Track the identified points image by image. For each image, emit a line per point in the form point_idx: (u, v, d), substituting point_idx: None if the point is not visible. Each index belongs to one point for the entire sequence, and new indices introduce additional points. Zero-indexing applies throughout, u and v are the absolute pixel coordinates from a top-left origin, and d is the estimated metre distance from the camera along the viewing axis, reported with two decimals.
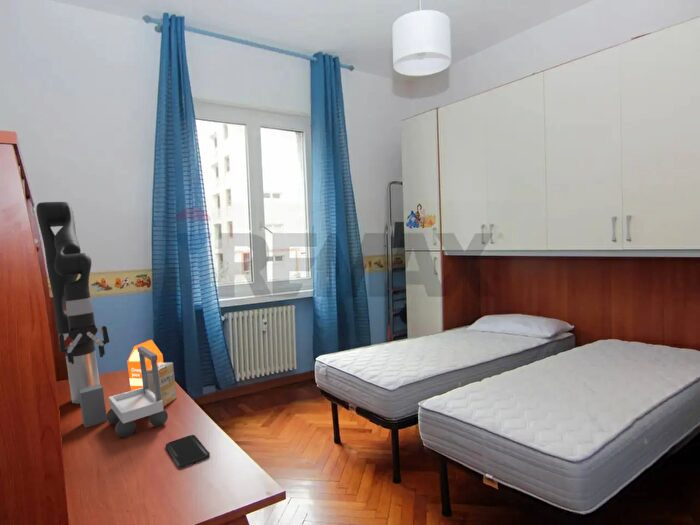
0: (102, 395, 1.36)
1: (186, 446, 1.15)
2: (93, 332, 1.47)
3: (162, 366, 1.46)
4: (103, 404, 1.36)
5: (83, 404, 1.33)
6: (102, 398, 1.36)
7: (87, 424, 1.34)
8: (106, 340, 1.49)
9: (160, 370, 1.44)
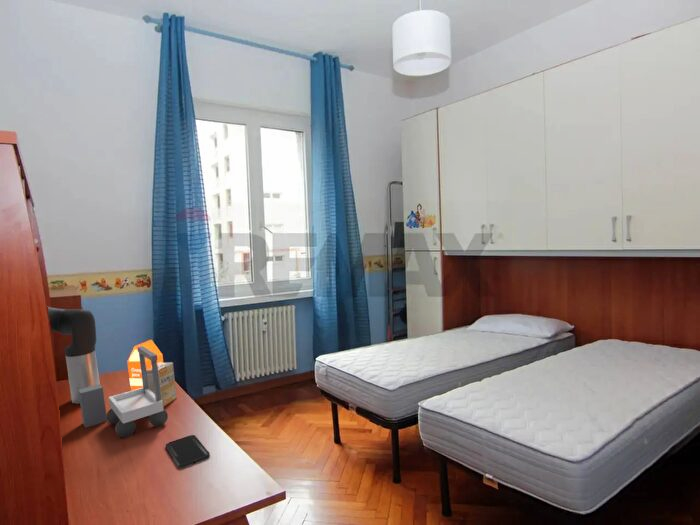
0: (102, 395, 1.36)
1: (186, 446, 1.15)
2: None
3: (162, 366, 1.46)
4: (103, 404, 1.36)
5: (83, 404, 1.33)
6: (102, 398, 1.36)
7: (87, 424, 1.34)
8: None
9: (160, 370, 1.44)
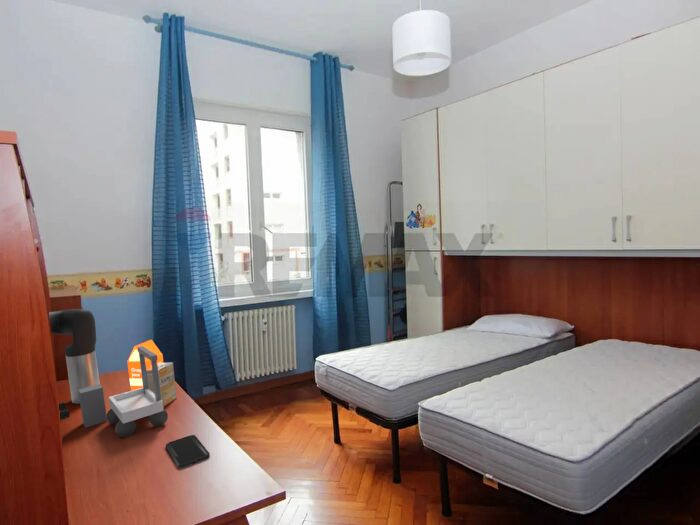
0: (102, 395, 1.36)
1: (186, 446, 1.15)
2: None
3: (162, 366, 1.46)
4: (103, 404, 1.36)
5: (83, 404, 1.33)
6: (102, 398, 1.36)
7: (87, 424, 1.34)
8: None
9: (160, 370, 1.44)
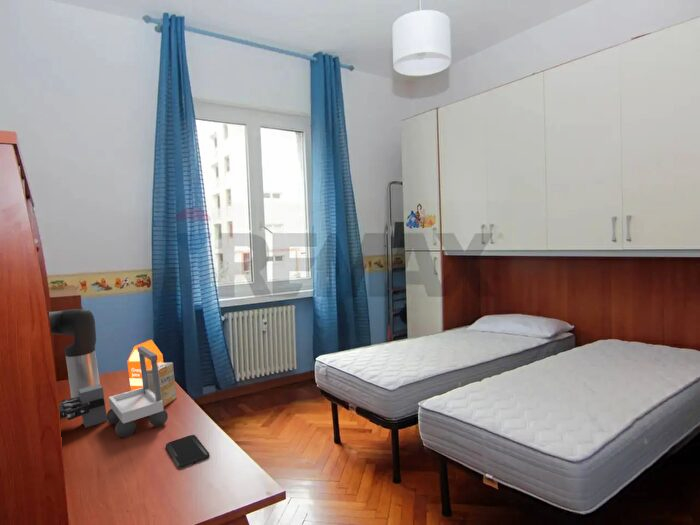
0: (102, 395, 1.36)
1: (186, 446, 1.15)
2: None
3: (162, 366, 1.46)
4: None
5: None
6: None
7: (87, 424, 1.34)
8: None
9: (160, 370, 1.44)
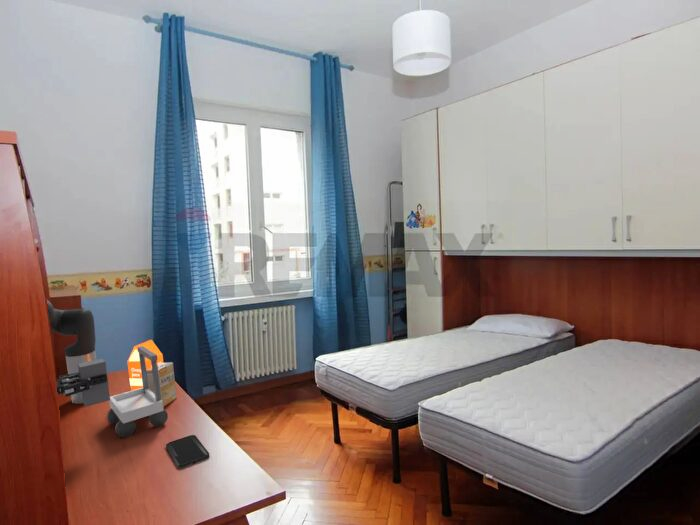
0: (105, 370, 1.20)
1: (186, 446, 1.15)
2: None
3: (162, 366, 1.46)
4: None
5: None
6: None
7: (87, 403, 1.17)
8: None
9: (160, 370, 1.44)
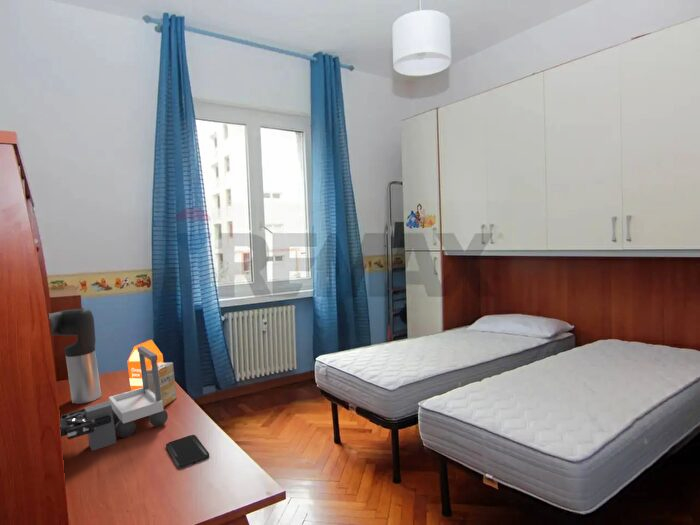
0: (111, 414, 1.21)
1: (186, 446, 1.15)
2: None
3: (162, 366, 1.46)
4: (112, 424, 1.21)
5: None
6: (111, 417, 1.21)
7: (94, 447, 1.18)
8: None
9: (160, 370, 1.44)
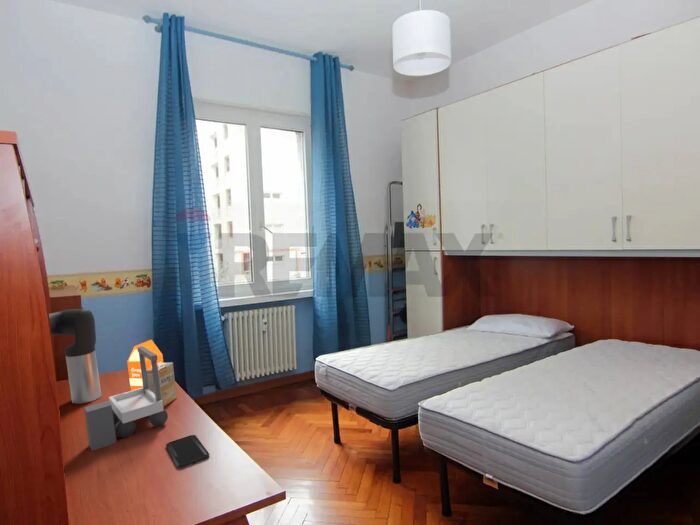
0: (111, 414, 1.21)
1: (186, 446, 1.15)
2: None
3: (162, 366, 1.46)
4: (112, 424, 1.21)
5: (89, 424, 1.18)
6: (111, 417, 1.21)
7: (94, 447, 1.18)
8: None
9: (160, 370, 1.44)
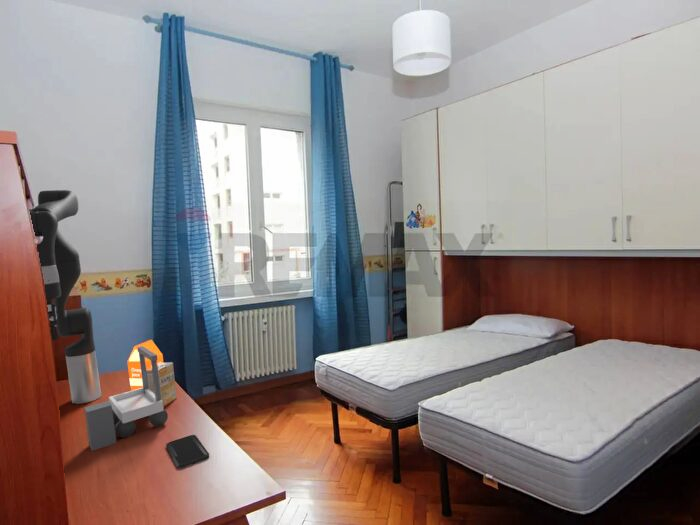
0: (111, 414, 1.21)
1: (186, 446, 1.15)
2: None
3: (162, 366, 1.46)
4: (112, 424, 1.21)
5: (89, 424, 1.18)
6: (111, 417, 1.21)
7: (94, 447, 1.18)
8: None
9: (160, 370, 1.44)
